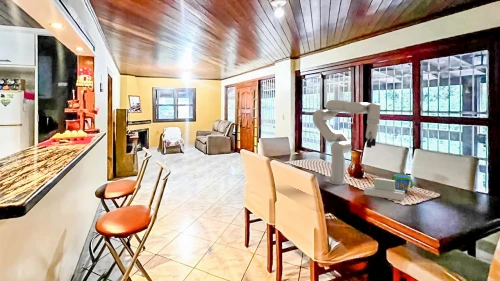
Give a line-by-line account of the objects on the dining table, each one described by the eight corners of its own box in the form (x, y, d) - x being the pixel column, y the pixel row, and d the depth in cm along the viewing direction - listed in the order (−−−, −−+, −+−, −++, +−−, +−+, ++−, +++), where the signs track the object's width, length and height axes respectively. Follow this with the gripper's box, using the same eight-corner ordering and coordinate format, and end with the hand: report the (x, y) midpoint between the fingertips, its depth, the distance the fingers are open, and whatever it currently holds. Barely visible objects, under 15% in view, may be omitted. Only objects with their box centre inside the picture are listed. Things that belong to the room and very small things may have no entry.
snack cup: (416, 192, 201) (417, 177, 200) (404, 193, 198) (405, 178, 197) (399, 186, 216) (399, 172, 215) (387, 187, 213) (387, 173, 212)
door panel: (373, 192, 196) (374, 178, 195) (374, 191, 199) (375, 177, 198) (393, 195, 189) (394, 181, 188) (394, 194, 192) (395, 180, 191)
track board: (363, 194, 197) (363, 188, 197) (367, 190, 205) (367, 185, 205) (402, 200, 184) (402, 194, 183) (404, 196, 192) (405, 190, 191)
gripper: (370, 120, 211) (368, 144, 214) (363, 121, 198) (361, 147, 200) (382, 121, 207) (379, 145, 209) (375, 122, 193) (373, 148, 196)
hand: (370, 146), depth 205 cm, fingers open, 9 cm apart
